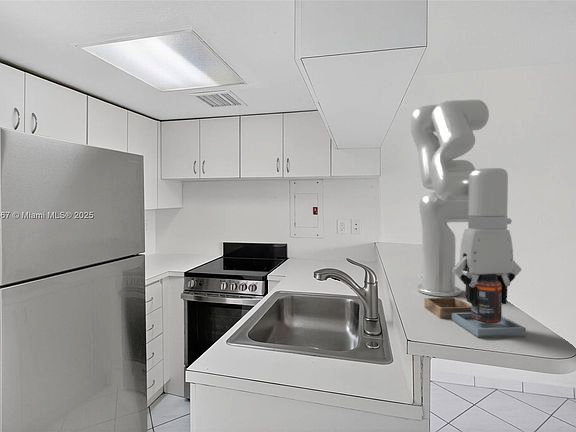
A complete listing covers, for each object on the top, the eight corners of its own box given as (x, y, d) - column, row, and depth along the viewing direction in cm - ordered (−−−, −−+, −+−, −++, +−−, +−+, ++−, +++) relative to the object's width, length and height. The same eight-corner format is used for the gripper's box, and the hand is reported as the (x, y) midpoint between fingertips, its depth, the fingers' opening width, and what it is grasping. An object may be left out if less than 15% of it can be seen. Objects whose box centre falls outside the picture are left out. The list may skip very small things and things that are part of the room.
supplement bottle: (496, 316, 77) (497, 268, 77) (505, 325, 72) (506, 274, 71) (468, 314, 79) (468, 267, 79) (474, 323, 73) (475, 272, 73)
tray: (451, 320, 80) (451, 313, 80) (493, 319, 81) (493, 311, 81) (477, 337, 70) (478, 329, 70) (525, 336, 70) (525, 328, 70)
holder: (424, 307, 90) (424, 298, 90) (455, 306, 91) (455, 297, 90) (440, 318, 82) (440, 308, 82) (474, 317, 82) (474, 307, 82)
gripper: (512, 222, 78) (511, 296, 79) (441, 223, 78) (440, 298, 79) (537, 224, 71) (535, 307, 72) (458, 225, 70) (458, 309, 71)
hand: (486, 301), depth 75 cm, fingers closed on supplement bottle, 5 cm apart
